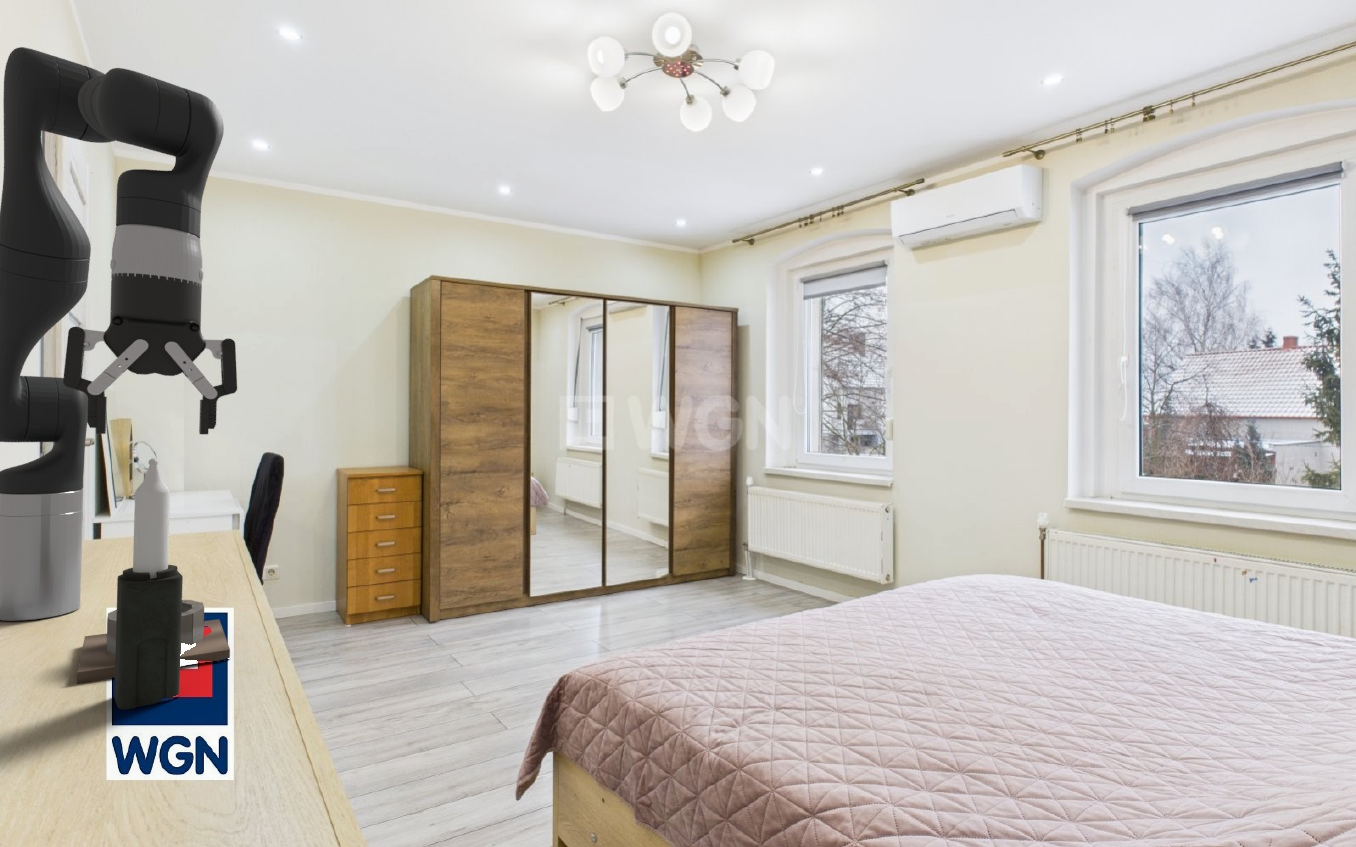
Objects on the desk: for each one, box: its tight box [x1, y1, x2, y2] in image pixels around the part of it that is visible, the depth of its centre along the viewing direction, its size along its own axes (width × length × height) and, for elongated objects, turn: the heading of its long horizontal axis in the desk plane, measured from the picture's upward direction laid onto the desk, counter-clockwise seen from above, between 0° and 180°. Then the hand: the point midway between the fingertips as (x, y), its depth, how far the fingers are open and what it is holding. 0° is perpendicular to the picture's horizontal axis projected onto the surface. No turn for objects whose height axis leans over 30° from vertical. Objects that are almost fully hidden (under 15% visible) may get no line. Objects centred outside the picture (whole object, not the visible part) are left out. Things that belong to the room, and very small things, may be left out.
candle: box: [113, 457, 183, 711], centre depth 73 cm, size 5×5×25 cm
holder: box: [76, 599, 231, 684], centre depth 86 cm, size 14×14×5 cm
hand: (153, 433), depth 73 cm, fingers open, 8 cm apart
